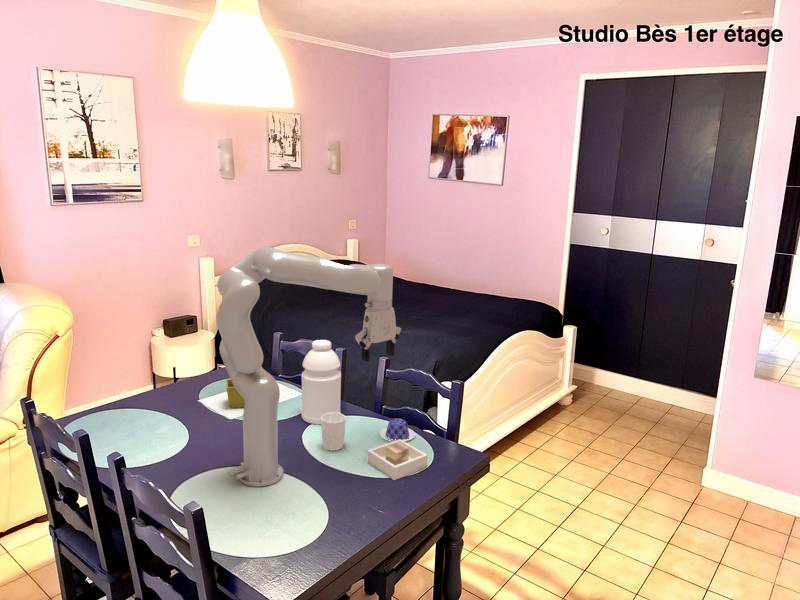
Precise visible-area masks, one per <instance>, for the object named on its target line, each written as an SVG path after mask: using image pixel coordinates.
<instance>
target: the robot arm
mask: <svg viewBox="0 0 800 600" xmlns="http://www.w3.org/2000/svg"><path fill="white" fill-rule="evenodd" d="M265 279H267V280H269V281H272V282H276V283H283V284H291V285H298V286H308V287H314V288H319V289H324V290H331V291H335V292H336V291H337V292H341V293H349V294H354V295H360V296H361V295H363V296H367V300H366V301H367V302H365V303H364V306H365V308H366V309H365V311H364V316H363V324H362V330H361V331H359V332H358V333H356V335H355V336H354V338H355V341H356V343H357V344H358V346H359V347H360V348H361V359H362V360H363V361H365V362H366V363H368V362H370V359H371V358H370V357H371V353H370V352H371V350H370V349H369V348H370V346H371V344H377V343H382V342H386V346H385V348H386V349H385V354H387V355H389V356H394V355H395V344H397V340H398V339H399V336H400V334H401V332H402V328H401V327H400V326H397V325H396V324H397V323H396V322H397V321H396V314H395V313H396V312H395V309H394V307H393V287H394V285H393V284H394V281H393V280H394V268H393V267H392V265H389V264H387V263H386V264H385V263H374V264H373V263H372V264H361V263H360V264H358V263H355V264H354V263H352V264H349V265H346V264H345V265H344V264H341V263H338V262H334V261H332V260H329V259H326V258H323V257H320V256H314V255H306V254H300V253H295V252H289V251H284V250H283V251H282V250H279V249H277V248H274V247H270V246H263V247H260V248H258V249H257V250H255V251H253V252H251V253H250V254H248V255H247V256H245V257H244V258H242V259H240V260H239V261H238V262H236V263H234V264H233V265H231V266H230V267H228V268H227V269H226V270H225V271H223V272H222V273H221V274H220V276H219V277H218V280H217V284H216V285H217V287H216V288H217V290H218V292H219V294H220V295H221V297H222V298H223V299H222V300H221V301H220V303H219V306H218V310H217V314H216V324H217V329H218V332H219V335H220V337H221V341H220V343H219V355H220V357H221V360H222V363H223V365H224V367H225V370H226V372H227V374H228V376H229V379H231V381H232V383H233V385H234V387H235V388H236V390H237V391H238V392H239V393H240V394H241V395H242V397H243V398H244V400H245V407H243V413H242V429H243V432H242V434H243V437H242V438H243V439H242V441H243V461H242V462H240V466H238V467H237V468H236V469H231V470H229V471H227V476H228V478H229V479H232V478H234V477H235V478H236V480H239V481H240V482H241V483H242V484H244V485H246V486H249V487H256V488H258V487H259V488H260V487H266V486H271V485H273V484H276V483H277V482H280V480H281V479H283V476H284V468H283V467H282V465H280V464H279V463H278V462H279V458H278V457H279V455H278V452H279V451H278V446H279V444H278V441H279V439H278V435H279V434H278V431H279V430H278V411H279V410H278V409H279V401H280V396H281V394H280V393H281V392H280V391H281V390H280V387H279V386H280V385H279V383H278V382H277V380H276V379H275V378H274V376H272V375H271V374H270V372H268V371H266V369H264V368H263V367H262V365H263V363H264V353H263V349H262V346H261V345H260V342H259V340H258V338H257V336H256V333H255V329H254V327H253V324H252V321H251V312H252V310H253V308H254V307H255V305H256V304H257V302H258V300H259V299H260V295H261V291H260V285H259V284H260V283H261V282H262V281H263V280H265Z"/></svg>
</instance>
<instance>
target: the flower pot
mask: <svg viewBox="0 0 800 600" xmlns="http://www.w3.org/2000/svg"><path fill="white" fill-rule="evenodd" d="M225 384H226V393H227V400H228V403H229V405H230V407H233V408H232V409H234V408H235V407H238V408H244V407H245V400H244V398H243V397H242V395H241V394H240V393H239V392H238V391H237V390H236V388H235V387H234V385H233V383H232V381H231V379H230V378H229V379H226V380H225ZM235 409H236V408H235Z"/></svg>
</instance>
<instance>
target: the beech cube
mask: <svg viewBox="0 0 800 600" xmlns="http://www.w3.org/2000/svg"><path fill="white" fill-rule="evenodd" d="M386 460H387V461H389V462H390V463H392V464H394V465H398V464H401V463H403V462H406V461H408V460H409V448H408V447H406V446H404V445H403V444H401V443H399V442H398V443H395V444H392V445H389V446H386Z"/></svg>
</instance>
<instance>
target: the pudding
mask: <svg viewBox="0 0 800 600" xmlns="http://www.w3.org/2000/svg"><path fill="white" fill-rule="evenodd" d="M385 430H387V431H386V433H385V436H387V437H389V438H388V439H390V440H388V439H386V438H385V437H384V436H383V434H382V433H383V432H384V431H385ZM379 436H380V437H381V438H382V439H383V440H386V441H388V442H393V441H391V439H393V440H395V439H396V440H399V439H401V440H404V442H408V441H411V440H413V439H414V438H415V437H416V434H415V431H414V430H413V429H411V428H409V427H408V423H407V422H406V420H405V419H402V418H392V419H390V420H389V421H388V424H387V426H386V427H384V428H382V429H381V430H380V431H379ZM408 438H409V439H408ZM406 439H407V440H406ZM396 440H395V441H396Z"/></svg>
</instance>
